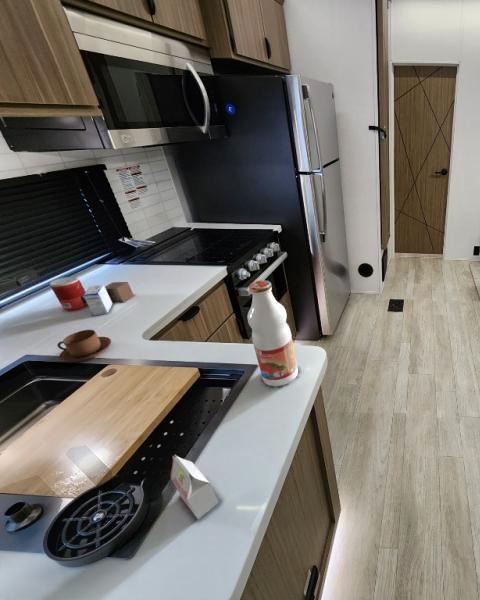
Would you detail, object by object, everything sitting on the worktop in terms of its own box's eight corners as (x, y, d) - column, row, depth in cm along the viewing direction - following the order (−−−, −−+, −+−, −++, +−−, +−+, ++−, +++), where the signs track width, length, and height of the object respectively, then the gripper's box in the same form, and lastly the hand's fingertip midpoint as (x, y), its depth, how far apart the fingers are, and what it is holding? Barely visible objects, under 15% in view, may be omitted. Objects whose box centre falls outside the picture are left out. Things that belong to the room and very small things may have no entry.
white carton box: (201, 481, 64) (184, 447, 59) (218, 502, 61) (202, 468, 56) (181, 496, 62) (162, 462, 57) (198, 519, 58) (179, 484, 53)
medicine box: (99, 306, 126) (88, 286, 122) (113, 304, 128) (103, 284, 124) (93, 316, 120) (82, 295, 116) (108, 313, 122) (98, 292, 118)
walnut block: (107, 302, 129) (101, 288, 127) (118, 295, 135) (112, 282, 132) (123, 302, 130) (116, 288, 127) (133, 295, 135) (127, 281, 132)
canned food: (92, 306, 127) (78, 280, 121) (64, 313, 122) (49, 287, 117) (90, 299, 131) (77, 274, 126) (63, 306, 127) (49, 280, 122)
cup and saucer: (59, 371, 93) (48, 353, 90) (65, 350, 102) (55, 334, 99) (112, 355, 99) (103, 338, 96) (114, 337, 108) (106, 321, 105)
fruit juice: (305, 373, 92) (288, 282, 79) (276, 392, 85) (252, 297, 72) (285, 360, 97) (266, 272, 84) (255, 377, 90) (230, 285, 77)
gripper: (-107, 318, 88) (-20, 284, 107) (-12, 316, 88) (58, 282, 107) (-129, 293, 84) (-35, 263, 103) (-29, 291, 85) (46, 261, 104)
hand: (13, 273), depth 105 cm, fingers open, 13 cm apart
